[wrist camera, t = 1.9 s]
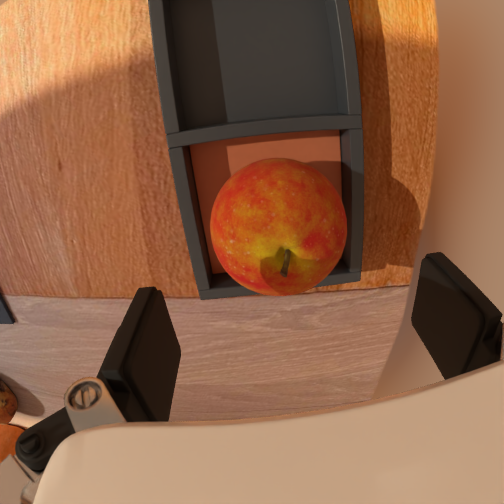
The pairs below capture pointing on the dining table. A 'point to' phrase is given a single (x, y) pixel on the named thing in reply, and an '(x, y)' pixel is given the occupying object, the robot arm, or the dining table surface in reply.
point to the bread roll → (7, 404)
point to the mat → (5, 313)
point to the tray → (258, 109)
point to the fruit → (278, 226)
